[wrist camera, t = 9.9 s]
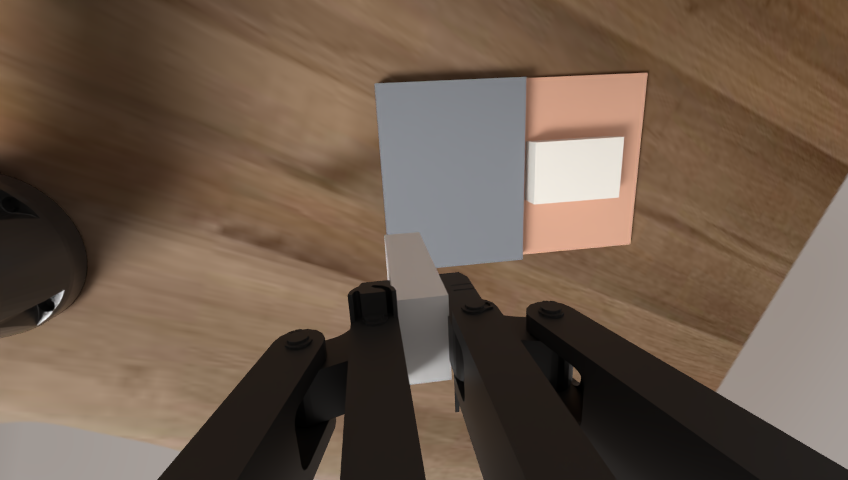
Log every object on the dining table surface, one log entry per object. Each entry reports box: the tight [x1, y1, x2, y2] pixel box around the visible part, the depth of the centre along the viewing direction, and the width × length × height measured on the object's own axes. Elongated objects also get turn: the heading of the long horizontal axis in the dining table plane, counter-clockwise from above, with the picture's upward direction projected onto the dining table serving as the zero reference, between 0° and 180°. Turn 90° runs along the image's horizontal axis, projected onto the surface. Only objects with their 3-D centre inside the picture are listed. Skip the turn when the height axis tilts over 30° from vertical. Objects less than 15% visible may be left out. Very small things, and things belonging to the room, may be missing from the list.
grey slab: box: [375, 77, 526, 268], centre depth 41 cm, size 14×18×2 cm
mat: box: [523, 73, 648, 254], centre depth 43 cm, size 13×18×1 cm
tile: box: [525, 136, 624, 204], centre depth 41 cm, size 9×6×2 cm, turn 93°
